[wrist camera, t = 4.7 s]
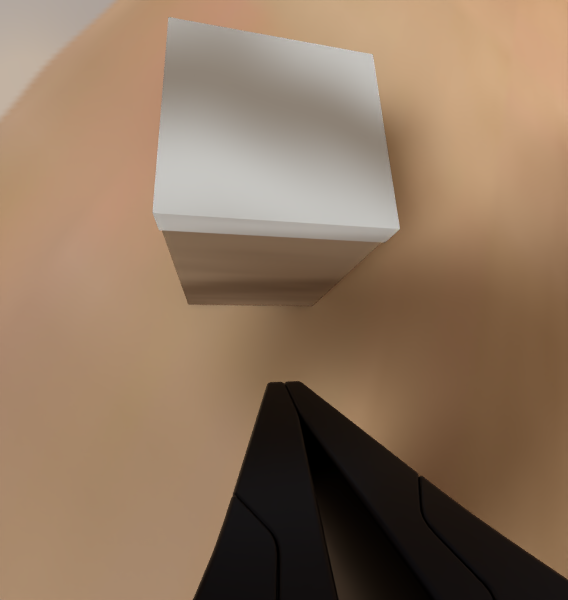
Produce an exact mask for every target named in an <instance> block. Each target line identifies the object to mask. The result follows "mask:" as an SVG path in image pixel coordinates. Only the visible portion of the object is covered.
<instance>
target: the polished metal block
mask: <svg viewBox="0 0 568 600" xmlns="http://www.w3.org/2000/svg"><path fill="white" fill-rule="evenodd" d="M153 215H154V218H155V221H156V223H157V226H158V229H159V230H162V232H163V235H164V237H165V240H166V243H167V246H168V249H169V252H170V254H171V257H172V260H173V263H174V266H175V268H176V271H177V274H178V277H179V280H180V282H181V285H182V288H183V291H184V294H185V296H186V299H187V302H188V304H200V305H291V306H313V305H314V304H315V303H316V302H317V301H318V300H319V299H320V298H321V297H322V296H323V295H325V294H326V293H327V292H328V291H329V290H330V289H331V288H332V287H333V286H334V285H335V284H337V283H338V282H339V281H340V280H341V279H342V278H343V277H344V276H345V275H346V274H347V273H349V272H350V271H351V270H352V269H353V268H354V267H355V266H356V265H357V264H358V263H359V262H361V261H362V260H363V259H364V258H365V257H366V256H367V255H368V254H369V253H370V252H371V251H373V250H374V249H375V248H376V247H377V246H378V245H379V244H380V243H381V242H382V243H385V242H386V241H387V240H388V239H389V238H391V237H392V236H393V235H394V234H395V233H396V232H397V231H398V230H399V229H400V226H399V220H398V213H397V207H396V201H395V194H394V188H393V181H392V175H391V169H390V162H389V156H388V149H387V143H386V136H385V130H384V124H383V117H382V111H381V104H380V98H379V92H378V85H377V79H376V72H375V66H374V59H373V54H368V53H362V52H357V51H352V50H346V49H341V48H335V47H330V46H324V45H319V44H313V43H308V42H302V41H297V40H291V39H286V38H280V37H275V36H269V35H264V34H258V33H253V32H248V31H242V30H237V29H231V28H226V27H220V26H215V25H209V24H204V23H198V22H193V21H187V20H182V19H176V18H171V17H169V18H168V30H167V42H166V55H165V67H164V79H163V92H162V104H161V116H160V128H159V141H158V153H157V165H156V178H155V190H154V202H153Z"/></svg>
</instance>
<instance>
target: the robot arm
mask: <svg viewBox="0 0 568 600" xmlns="http://www.w3.org/2000/svg"><path fill="white" fill-rule="evenodd" d="M193 600H568V579H566V578H565V577H563V576H562V575H560V574H559V573H557V572H556V571H554V570H553V569H551V568H550V567H548V566H547V565H545V564H544V563H543V562H541V561H540V560H538V559H537V558H535V557H534V556H532V555H531V554H529V553H528V552H526V551H525V550H523V549H522V548H520V547H519V546H518V545H516V544H515V543H513V542H512V541H510V540H509V539H507V538H506V537H504V536H503V535H502V534H500V533H499V532H497V531H496V530H494V529H493V528H492V527H490V526H489V525H487V524H486V523H485V522H483V521H482V520H480V519H479V518H477V517H476V516H475V515H473V514H472V513H470V512H469V511H468V510H466V509H465V508H464V507H462V506H461V505H460V504H458V503H457V502H456V501H454V500H453V499H452V498H450V497H449V496H448V495H446V494H445V493H444V492H442V491H441V490H440V489H438V488H437V487H436V486H435V485H433V484H432V483H431V482H429V481H428V480H427V479H426V478H424V477H423V476H419V475H418V473H417V472H416V471H414V470H413V469H412V468H410V467H409V466H408V465H407V464H405V463H404V462H403V461H401V460H400V459H399V458H398V457H396V456H395V455H394V454H393V453H391V452H390V451H389V450H387V449H386V448H385V447H384V446H382V445H381V444H380V443H378V442H377V441H376V440H375V439H373V438H372V437H371V436H370V435H368V434H367V433H366V432H364V431H363V430H362V429H361V428H359V427H358V426H357V425H355V424H354V423H353V422H352V421H350V420H349V419H348V418H346V417H345V416H344V415H343V414H341V413H340V412H339V411H338V410H336V409H335V408H334V407H332V406H331V405H330V404H329V403H327V402H326V401H325V400H323V399H322V398H321V397H320V396H318V395H317V394H316V393H314V392H313V391H312V390H311V389H309V388H308V387H307V386H306V385H304V384H303V383H301V382H300V381H293V382H285V383H283V382H270V383H268V384H267V386H266V390H265V393H264V396H263V399H262V402H261V406H260V409H259V412H258V415H257V418H256V422H255V425H254V428H253V431H252V434H251V438H250V441H249V444H248V447H247V450H246V454H245V457H244V460H243V463H242V466H241V470H240V473H239V476H238V479H237V483H236V486H235V489H234V492H233V497H232V498H231V501H230V504H229V507H228V510H227V513H226V517H225V520H224V522H223V525H222V528H221V531H220V534H219V537H218V540H217V542H216V545H215V548H214V551H213V553H212V556H211V558H210V560H209V563H208V565H207V568H206V570H205V572H204V575H203V577H202V580H201V582H200V584H199V587H198V589H197V592H196V594H195V596H194V598H193Z"/></svg>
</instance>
